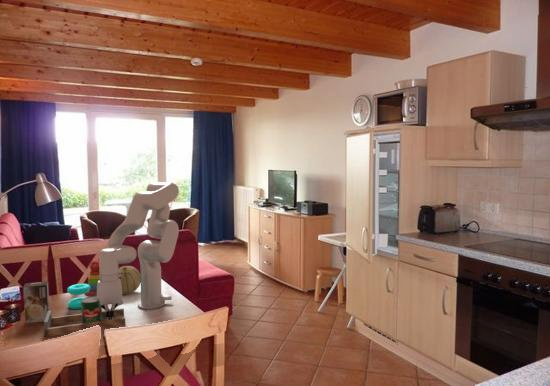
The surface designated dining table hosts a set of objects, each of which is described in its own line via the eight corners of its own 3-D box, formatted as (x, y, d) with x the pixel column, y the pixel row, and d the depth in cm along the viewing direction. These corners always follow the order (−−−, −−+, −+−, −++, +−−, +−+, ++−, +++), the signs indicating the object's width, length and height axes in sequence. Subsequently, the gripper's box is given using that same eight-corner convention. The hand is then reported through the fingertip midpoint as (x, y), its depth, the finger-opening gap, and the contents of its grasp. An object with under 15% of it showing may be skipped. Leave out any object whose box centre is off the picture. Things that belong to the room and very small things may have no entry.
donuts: (69, 283, 198) (91, 282, 201) (69, 304, 199) (92, 301, 202) (65, 289, 189) (88, 287, 192) (66, 310, 189) (89, 308, 192)
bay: (123, 314, 184) (123, 301, 184) (125, 325, 172) (125, 311, 172) (48, 324, 173) (48, 310, 172) (44, 337, 160) (44, 322, 160)
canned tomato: (86, 329, 168) (85, 303, 167) (78, 324, 173) (77, 299, 172) (105, 324, 173) (104, 298, 173) (97, 319, 179) (96, 295, 178)
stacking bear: (102, 289, 223) (102, 257, 221) (112, 292, 216) (111, 259, 215) (83, 293, 214) (82, 260, 213) (92, 297, 208) (91, 263, 207)
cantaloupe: (138, 287, 225) (137, 261, 224) (144, 295, 213) (143, 266, 212) (109, 291, 218) (108, 264, 217) (114, 299, 205) (113, 270, 204)
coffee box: (50, 315, 183) (49, 280, 182) (48, 320, 177) (47, 284, 176) (26, 318, 179) (25, 283, 178) (24, 324, 173) (22, 287, 172)
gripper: (127, 273, 181) (127, 314, 182) (90, 277, 175) (91, 318, 176) (128, 277, 174) (129, 319, 175) (89, 281, 168) (91, 325, 169)
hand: (110, 319), depth 176 cm, fingers closed
